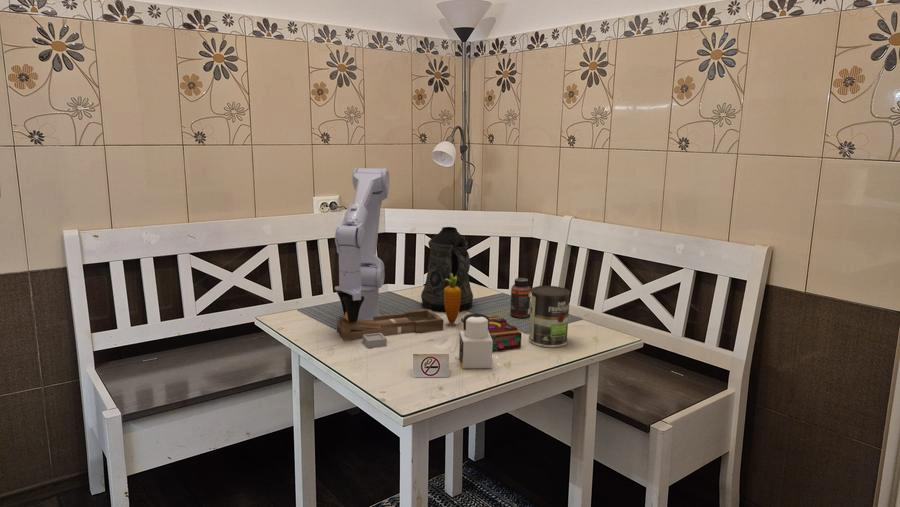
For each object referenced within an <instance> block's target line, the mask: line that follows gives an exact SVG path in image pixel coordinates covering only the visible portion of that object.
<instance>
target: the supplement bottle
mask: <svg viewBox="0 0 900 507" xmlns="http://www.w3.org/2000/svg"><path fill="white" fill-rule="evenodd" d="M510 288H511V290H510V316H512V317H513V316H514V318H517V317H518V318H519V319H521V318H522V319H523V318H528V317H530V312H531V289H532V288H531V286H529V279H528V278H525V277H516V278H515V279H514V283H513V285H512V286H511V287H510Z"/></svg>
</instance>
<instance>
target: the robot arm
mask: <svg viewBox="0 0 900 507" xmlns="http://www.w3.org/2000/svg"><path fill="white" fill-rule="evenodd" d="M351 178H352V179H351V180H352V185H353V187H354V190H355V192H354V197H353V202H352V204H349V205H348V206H347V208H346V212H345V214H344V217H343V220H342V223H341V224H340V226H337V227H336V229H335V234H334V242H335V247H336V253H337V254H338V281H339V282H338V284H339V285H337V286H334V290H335V291H336V294H337V295H338V298H339V300H340V303H341V308H342V312H343V316H344V317H345V313H346V312H347V316H348V320H349V322H357V319H365V320H373V317H375V316H382V315H381V313H380V312H379V310H380V309H379V304H380V303H379V301H380V300H379V299H380V298H379V297H380V294H379V293H380V292H379V289H380V288H382V287H383V285H384V283H385V264H384V262H383V260H382V259H381V258H379V257H378V256H377V247H378V238H379V237H378V236H379V235H378V234H379V228H380V227H379V226H380V219H381V218H380V217H381V207H382V203H383V201H385V200H386V199H388V195H389V190H390V182H391V181H390V173H389V170H388V169H387V168H386V167H384V168H376V167H375V168H372V167H371V168H370V167H359V166H358V167H355V168H354V169H353V172H352V177H351Z"/></svg>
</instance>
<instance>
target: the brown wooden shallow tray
mask: <svg viewBox="0 0 900 507" xmlns="http://www.w3.org/2000/svg"><path fill="white" fill-rule="evenodd" d="M443 330H444V319H443V318H442V317H440V316H439V315H438V314H437V313H436V312H435V311H432V310H430V309H420V310H419V309H418V310H411V311H410V310H409V311H404V312H402V313H396V314H393V313H392V314H386V315H381V316H375V317H373V320H365V319H357V322H349V321H347V320H346V318H345V316H344V317H342V316H339V317H338V319H336V333H337V334H338V333H339V334H338V335H339V337H340V338H341V339H342V341H351V340H359V339H363V335H366V334H374V333H382V334H383V335H384V336H385V337H386V336H393V334H394V335H400V334H409V333H410V334H411V333H415V334H423V333H429V332H430V333H431V332H438V331H443Z"/></svg>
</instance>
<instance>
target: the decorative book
mask: <svg viewBox="0 0 900 507" xmlns="http://www.w3.org/2000/svg"><path fill="white" fill-rule="evenodd" d="M487 317H488V318H489V333H490V336H491V338H492V340H493V346H492V352H495V351H497V350H508V349H515V348H521V346H522V332H520V330H518V327H516V326H515V325H511V324H509V322H507V319H505V318H503V317H500V316H498V315H494V316H487ZM460 321H461V323H463V327H462V328H463V330H462V331H464V318H461V320H460Z"/></svg>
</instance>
